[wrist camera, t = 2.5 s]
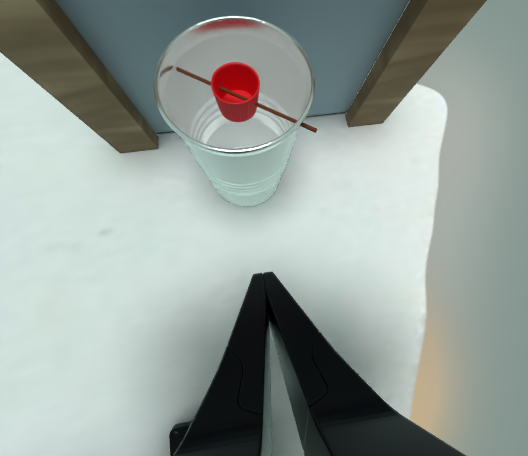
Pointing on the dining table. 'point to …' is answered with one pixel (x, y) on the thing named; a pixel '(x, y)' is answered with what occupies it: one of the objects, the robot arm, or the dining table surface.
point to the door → (248, 4)
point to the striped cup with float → (236, 101)
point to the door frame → (133, 123)
